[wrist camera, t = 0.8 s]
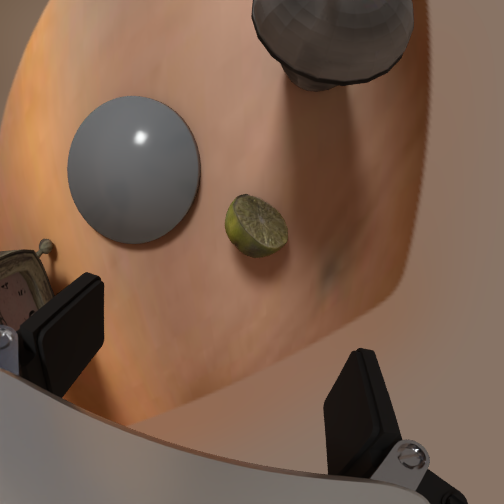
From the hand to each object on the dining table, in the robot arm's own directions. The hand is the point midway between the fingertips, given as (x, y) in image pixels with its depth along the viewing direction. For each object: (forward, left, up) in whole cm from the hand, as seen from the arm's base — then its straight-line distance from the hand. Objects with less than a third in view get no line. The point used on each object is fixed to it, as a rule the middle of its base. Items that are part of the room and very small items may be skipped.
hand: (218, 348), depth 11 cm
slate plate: (-2, -12, -17) cm, 21 cm away
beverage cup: (-14, +1, -17) cm, 22 cm away
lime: (0, 0, -17) cm, 17 cm away
